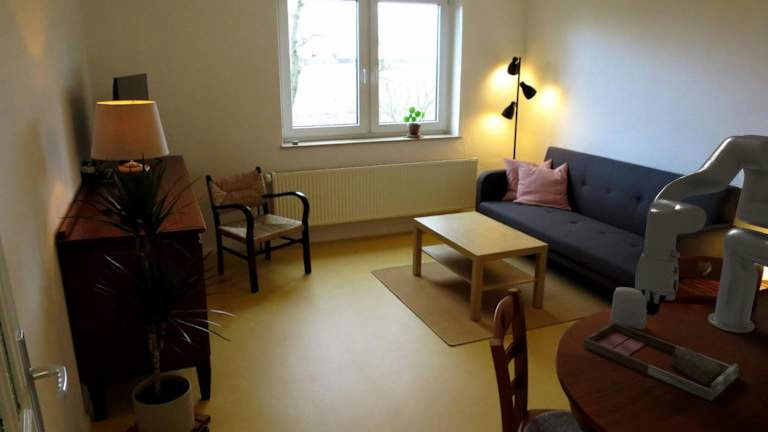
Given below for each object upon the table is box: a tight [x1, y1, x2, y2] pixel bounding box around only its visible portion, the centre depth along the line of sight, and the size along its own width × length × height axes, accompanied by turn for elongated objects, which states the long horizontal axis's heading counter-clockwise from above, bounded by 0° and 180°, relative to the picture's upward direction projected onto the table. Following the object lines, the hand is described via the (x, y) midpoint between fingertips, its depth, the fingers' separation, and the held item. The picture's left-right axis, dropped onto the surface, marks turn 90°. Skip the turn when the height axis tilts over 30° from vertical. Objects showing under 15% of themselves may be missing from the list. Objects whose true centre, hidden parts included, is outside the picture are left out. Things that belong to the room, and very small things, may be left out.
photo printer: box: [610, 286, 647, 330], centre depth 177 cm, size 10×4×12 cm, turn 59°
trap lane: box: [583, 322, 740, 402], centre depth 156 cm, size 17×36×4 cm, turn 39°
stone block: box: [671, 348, 723, 386], centre depth 150 cm, size 6×12×5 cm, turn 23°
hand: (652, 313), depth 156 cm, fingers closed
